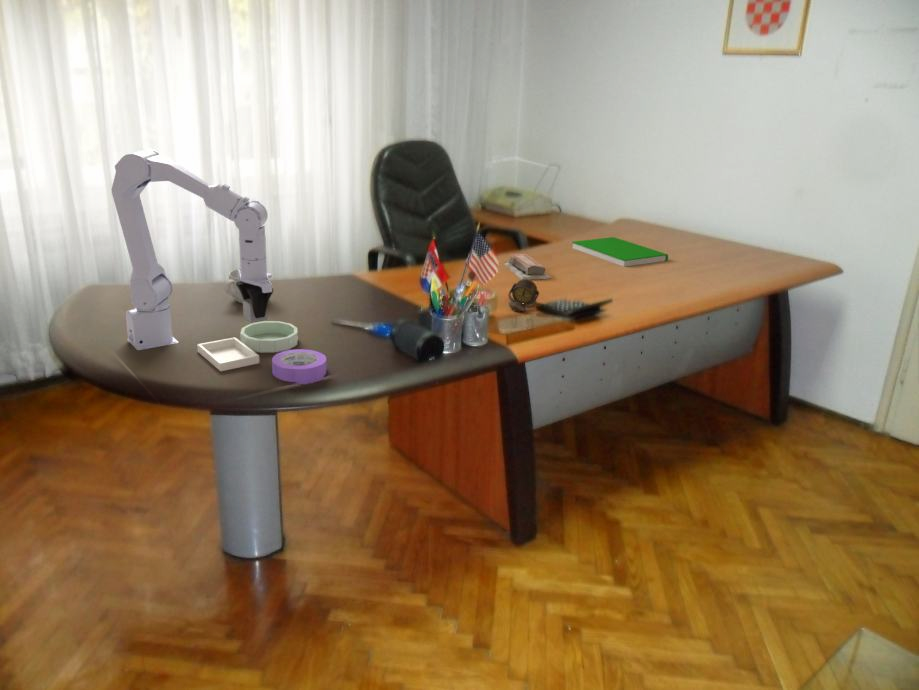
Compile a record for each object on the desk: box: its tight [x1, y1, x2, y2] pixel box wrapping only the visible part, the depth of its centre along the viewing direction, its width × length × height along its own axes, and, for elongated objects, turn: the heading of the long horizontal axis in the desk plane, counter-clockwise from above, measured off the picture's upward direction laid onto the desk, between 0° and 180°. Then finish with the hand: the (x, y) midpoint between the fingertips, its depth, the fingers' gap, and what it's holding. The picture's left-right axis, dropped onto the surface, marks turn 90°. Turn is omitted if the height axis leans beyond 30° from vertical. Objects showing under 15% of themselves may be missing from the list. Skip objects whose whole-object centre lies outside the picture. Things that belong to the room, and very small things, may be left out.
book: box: [571, 236, 669, 268], centre depth 284 cm, size 22×28×3 cm
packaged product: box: [504, 253, 551, 280], centre depth 254 cm, size 18×5×10 cm
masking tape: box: [271, 348, 328, 386], centre depth 166 cm, size 12×12×4 cm
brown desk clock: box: [507, 279, 540, 312], centre depth 219 cm, size 7×13×10 cm
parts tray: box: [196, 336, 260, 372], centre depth 171 cm, size 9×13×2 cm
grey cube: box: [242, 299, 268, 324], centre depth 175 cm, size 4×4×4 cm
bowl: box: [239, 320, 299, 353], centre depth 181 cm, size 13×13×4 cm
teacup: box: [224, 268, 243, 304], centre depth 208 cm, size 14×11×8 cm
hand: (255, 314), depth 175 cm, fingers closed on grey cube, 4 cm apart
